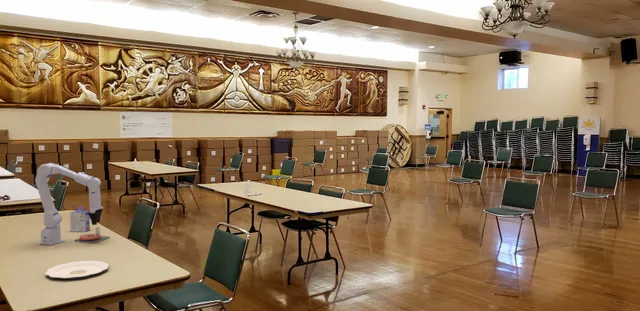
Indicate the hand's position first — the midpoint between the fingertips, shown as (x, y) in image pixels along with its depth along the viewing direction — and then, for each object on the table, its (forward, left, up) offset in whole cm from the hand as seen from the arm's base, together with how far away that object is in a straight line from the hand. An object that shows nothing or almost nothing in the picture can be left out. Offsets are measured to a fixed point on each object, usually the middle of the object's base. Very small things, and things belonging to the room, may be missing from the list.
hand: (96, 223), depth 270 cm
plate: (-49, -34, -11) cm, 60 cm away
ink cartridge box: (+18, +28, -10) cm, 35 cm away
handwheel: (+1, +5, -9) cm, 10 cm away
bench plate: (+2, +5, -10) cm, 11 cm away
